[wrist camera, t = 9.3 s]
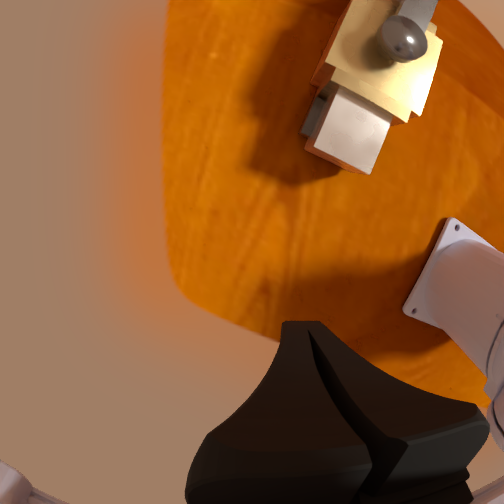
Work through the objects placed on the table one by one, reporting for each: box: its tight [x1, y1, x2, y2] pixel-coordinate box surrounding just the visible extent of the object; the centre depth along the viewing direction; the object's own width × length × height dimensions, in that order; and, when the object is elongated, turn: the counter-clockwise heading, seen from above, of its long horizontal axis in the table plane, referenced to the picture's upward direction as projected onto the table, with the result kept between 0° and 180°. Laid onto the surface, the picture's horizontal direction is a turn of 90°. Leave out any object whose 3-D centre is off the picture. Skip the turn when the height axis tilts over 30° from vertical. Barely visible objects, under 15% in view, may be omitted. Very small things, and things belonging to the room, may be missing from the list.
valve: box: [298, 0, 443, 175], centre depth 13 cm, size 6×14×5 cm, turn 157°
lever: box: [376, 0, 439, 63], centre depth 9 cm, size 8×2×2 cm, turn 153°
